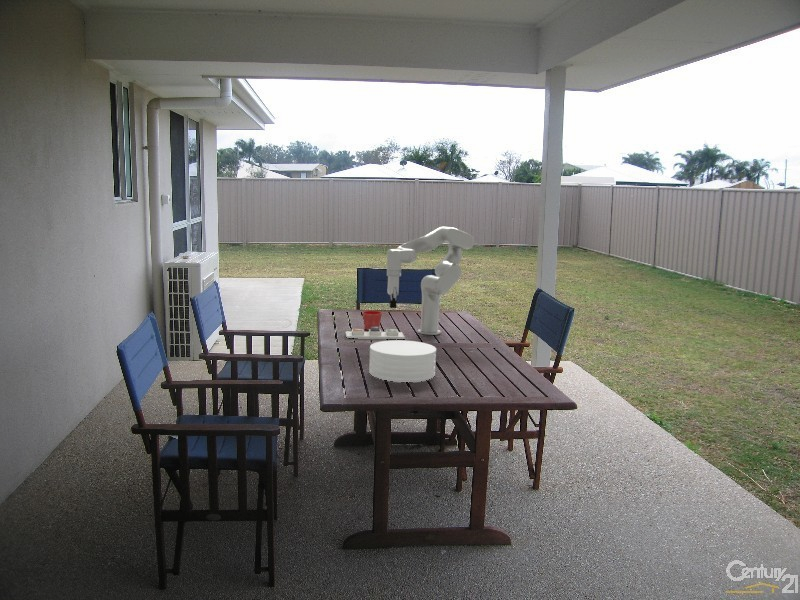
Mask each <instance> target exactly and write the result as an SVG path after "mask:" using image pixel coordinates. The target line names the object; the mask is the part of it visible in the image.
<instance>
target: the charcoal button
mask: <svg viewBox="0 0 800 600" xmlns="http://www.w3.org/2000/svg"><path fill="white" fill-rule="evenodd" d="M379 329H380V326H379V327H371V331H379Z"/></svg>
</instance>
